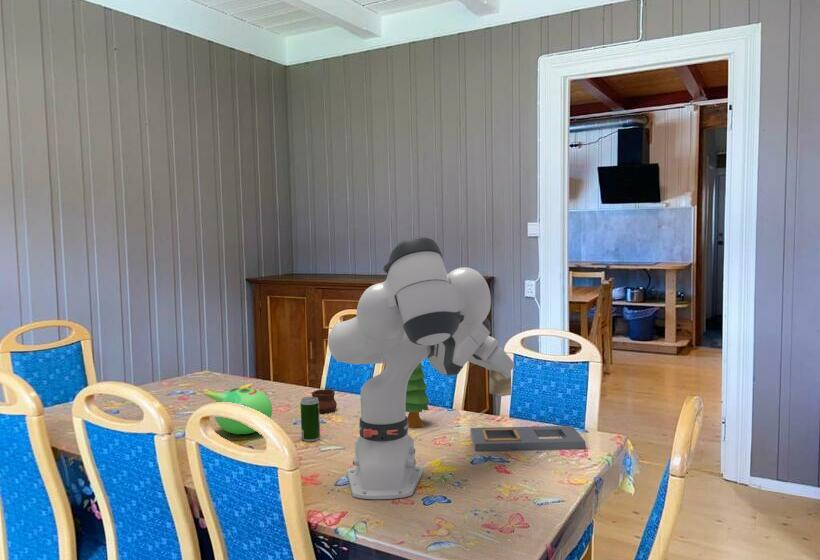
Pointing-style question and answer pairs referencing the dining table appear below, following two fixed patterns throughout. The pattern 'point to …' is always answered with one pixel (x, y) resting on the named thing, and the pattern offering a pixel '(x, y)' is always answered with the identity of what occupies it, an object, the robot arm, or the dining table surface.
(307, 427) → the beer can
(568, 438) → the grey flat plate
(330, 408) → the ceramic pot
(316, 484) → the dining table surface
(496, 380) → the wooden peg
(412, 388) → the decorative tree
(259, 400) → the green teapot
